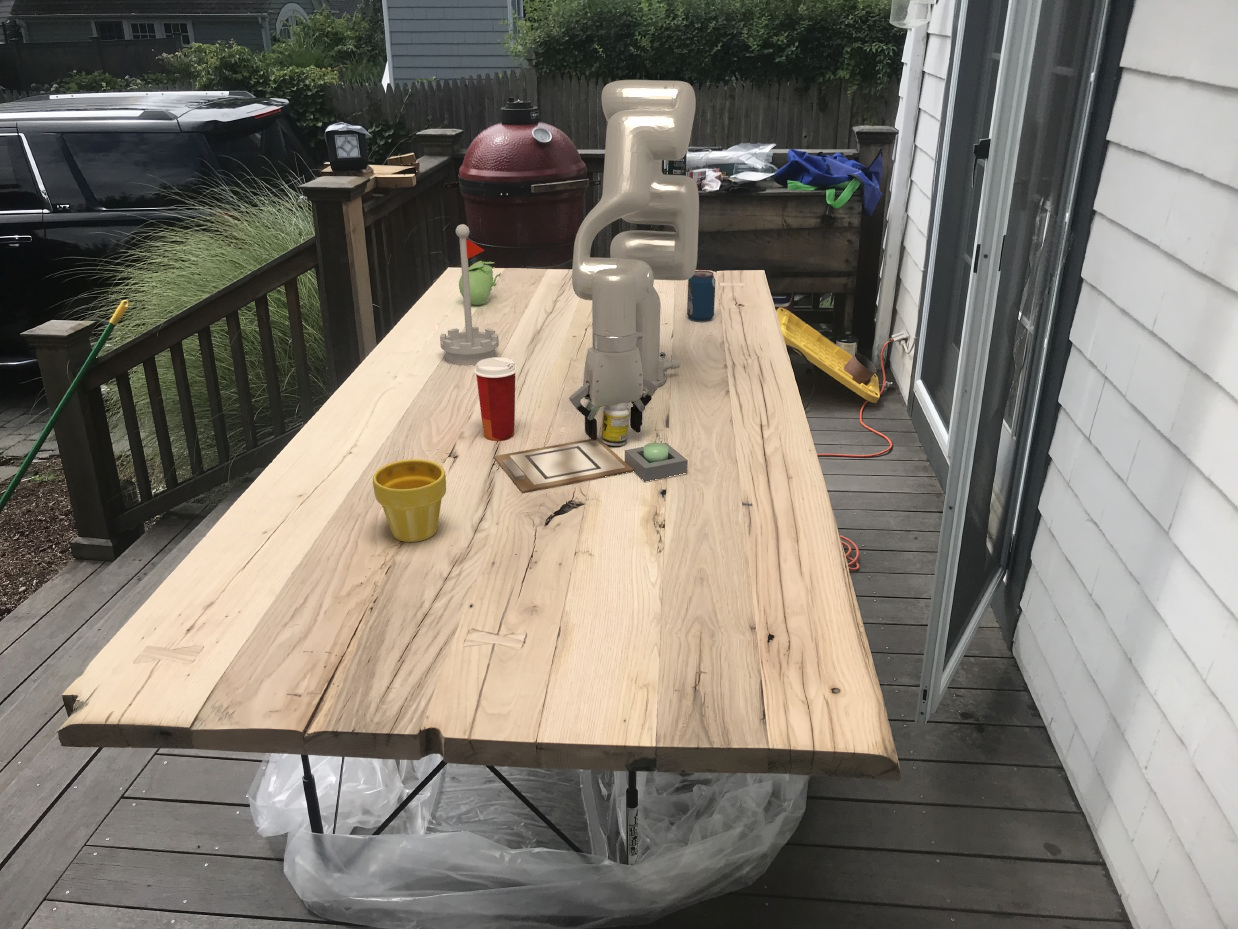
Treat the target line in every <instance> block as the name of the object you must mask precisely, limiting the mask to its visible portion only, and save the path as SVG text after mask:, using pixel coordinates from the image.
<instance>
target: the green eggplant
mask: <svg viewBox="0 0 1238 929" xmlns="http://www.w3.org/2000/svg"><path fill="white" fill-rule="evenodd" d="M491 264H495V261H494V262H492V261H482V260H479V261H476V262H475V263H473V264H472V265H470V266H468V268H469V284H470V300H471V305H472V306H473V305H474V306H481V305H483V304H485V303H487V301H488V299H489V297H490V294H491V292H492V289H493V287H496V286H497V284H498V283H496V280H497V278H498V277H501V275H502V273H501V272H500V273H498V274H496V275H495V277H494V272H493V271H494V270H493V269H495V268H496V267H495V266H494V267H492V266H491ZM458 287H459V289H458V290H459V292H460V295H461V297H462V298H463V283H462V275H461V276H460V278H459V281H458Z"/></svg>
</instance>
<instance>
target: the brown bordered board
mask: <svg viewBox="0 0 1238 929" xmlns="http://www.w3.org/2000/svg"><path fill="white" fill-rule="evenodd" d="M493 459H494V460H495V462H496V463H497V464H498V465H499V466H500V468H501V469H502V470H503V471H504V472H505V474H506V475H507V477H508V478H509V479H510V480H511V481H512V482H513V484H514V485H515V486H516V487H517V488H518V490H519V491H520V493H522V494H526V493H532V492H536V491H542V490H547V489H552V488H556V487H562V486H566V485H567V486H568V485H572V484H578V483H582V482H587V481H588V482H589V481H592V480H597V479H598V478H599V479H602V477H604V478H606V477H605V476H609V477H611V476H610V475H614V476H617V474H619V475H623V474H622V473H624V474H627V473H626V472H629V473H633V472H632V471H633V469H632V468H631V467H630V466H629V465H628V464H627V463H626V462H625V460H624V459H622V458H621V457H620V456H619V455H618V454H617V453H616V452H615V451H614V450H612V448H610V447H609V445H607V444H605V443H603V442H602V441H601V438H600V437H597V439H596V440H592V439H591V438H589V439H583V440H576V441H571V442H566V443H565V442H564V443H559V444H555V445H549V446H544V447H537V448H532V449H531V448H530V449H526V450H520V451H515V452H510V453H509V452H508V453H503V454H497V455H494V456H493Z"/></svg>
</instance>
